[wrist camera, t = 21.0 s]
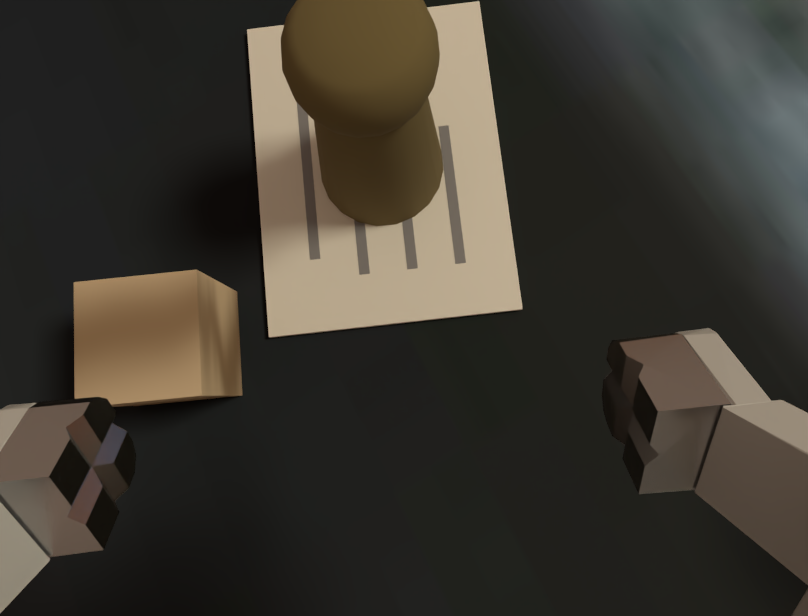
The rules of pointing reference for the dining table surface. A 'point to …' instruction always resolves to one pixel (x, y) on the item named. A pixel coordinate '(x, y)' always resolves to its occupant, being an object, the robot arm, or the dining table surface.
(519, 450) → the dining table surface
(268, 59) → the letter
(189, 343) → the oak cube
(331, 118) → the cork
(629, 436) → the robot arm
